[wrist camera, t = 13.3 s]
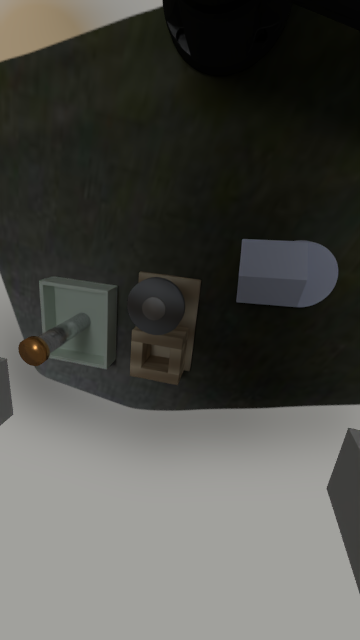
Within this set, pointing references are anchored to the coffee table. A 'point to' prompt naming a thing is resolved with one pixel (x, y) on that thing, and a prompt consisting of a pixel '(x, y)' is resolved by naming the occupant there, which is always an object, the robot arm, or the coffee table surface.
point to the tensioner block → (162, 326)
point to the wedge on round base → (285, 273)
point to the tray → (89, 298)
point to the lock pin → (52, 339)
